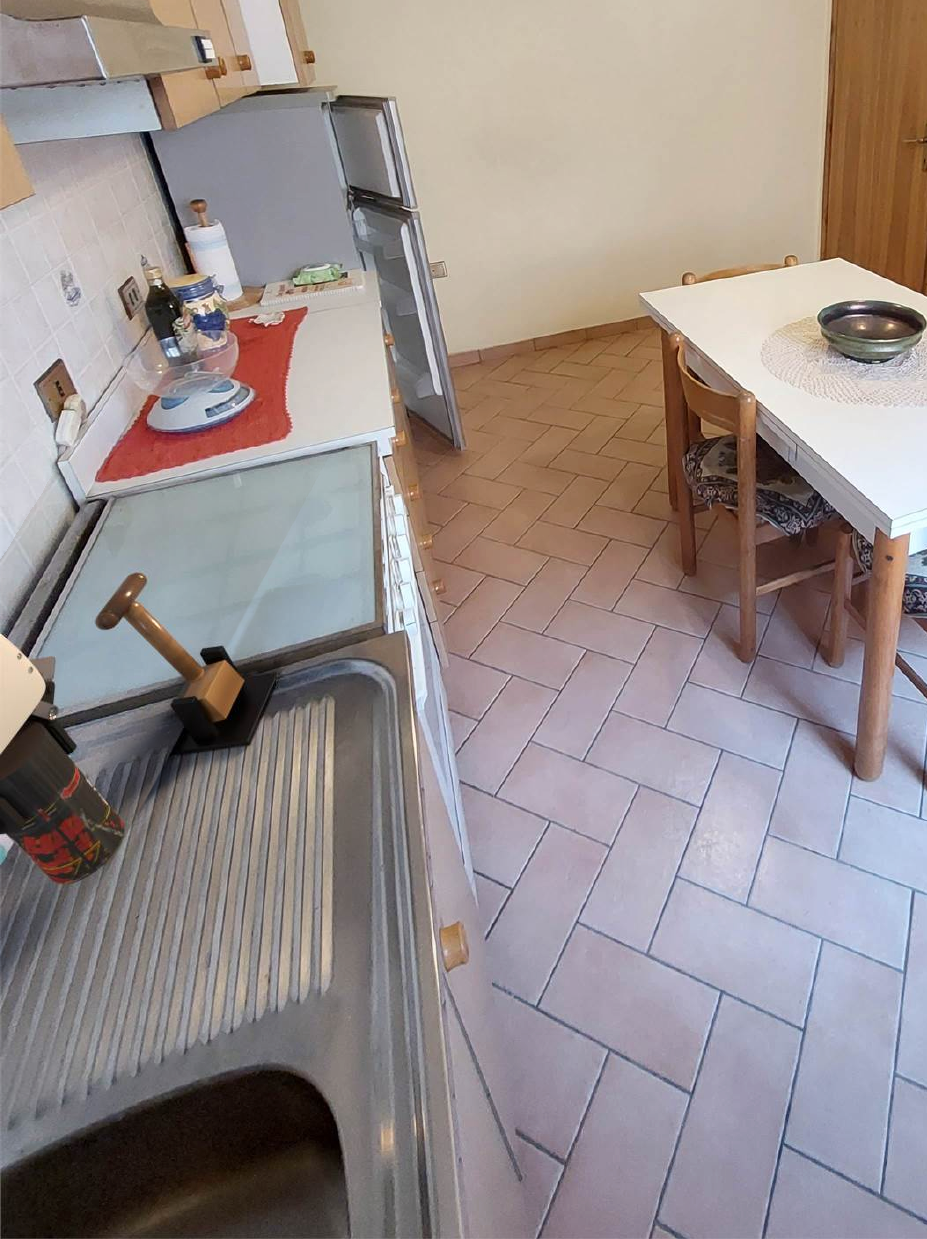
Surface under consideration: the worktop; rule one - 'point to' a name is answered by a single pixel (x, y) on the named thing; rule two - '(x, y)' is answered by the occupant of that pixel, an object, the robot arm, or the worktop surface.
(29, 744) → the deodorant
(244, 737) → the brush stand
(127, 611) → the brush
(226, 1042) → the worktop surface
